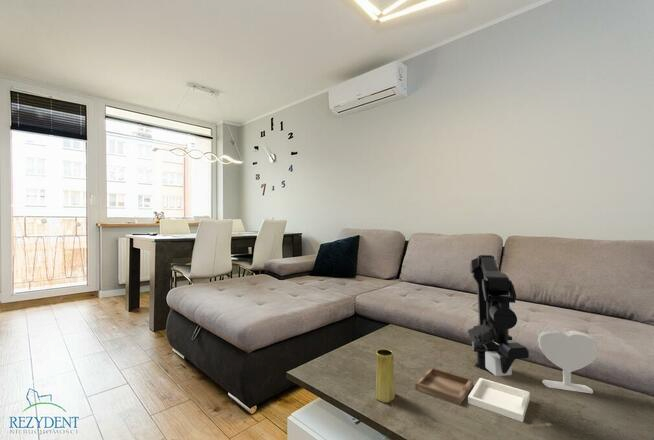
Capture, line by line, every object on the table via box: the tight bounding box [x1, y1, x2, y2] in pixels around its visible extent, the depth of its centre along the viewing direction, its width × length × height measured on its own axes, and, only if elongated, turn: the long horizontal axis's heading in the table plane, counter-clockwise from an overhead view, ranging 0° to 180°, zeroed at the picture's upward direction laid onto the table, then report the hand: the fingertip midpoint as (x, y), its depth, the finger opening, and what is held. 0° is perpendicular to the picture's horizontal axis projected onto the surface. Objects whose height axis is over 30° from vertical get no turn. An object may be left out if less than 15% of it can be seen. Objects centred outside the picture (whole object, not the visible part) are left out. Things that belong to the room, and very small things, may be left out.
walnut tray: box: [414, 366, 474, 406], centre depth 101 cm, size 14×14×2 cm
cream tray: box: [467, 377, 531, 423], centre depth 93 cm, size 14×14×2 cm
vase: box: [375, 348, 396, 404], centre depth 97 cm, size 6×6×14 cm
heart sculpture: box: [536, 328, 599, 394], centre depth 101 cm, size 16×5×18 cm, turn 69°
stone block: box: [485, 351, 513, 377], centre depth 93 cm, size 5×5×5 cm
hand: (498, 368), depth 93 cm, fingers closed on stone block, 5 cm apart
